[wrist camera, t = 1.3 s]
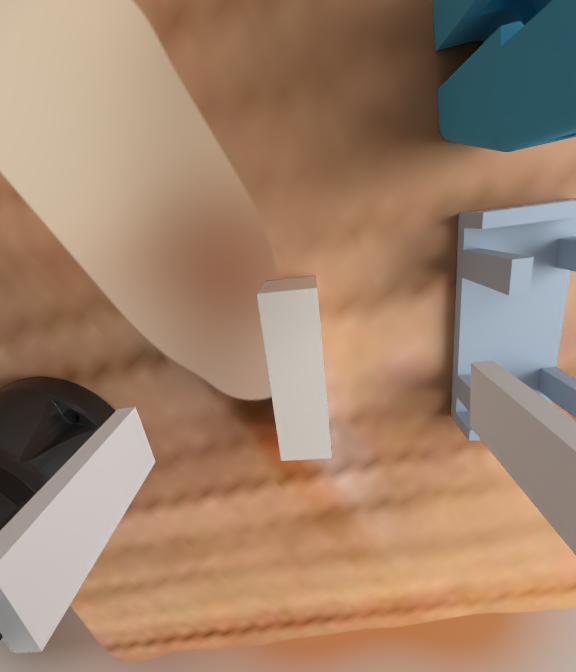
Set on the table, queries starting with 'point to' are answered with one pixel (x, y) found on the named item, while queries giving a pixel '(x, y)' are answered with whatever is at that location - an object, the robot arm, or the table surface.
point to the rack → (513, 299)
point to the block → (508, 72)
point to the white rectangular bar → (295, 366)
